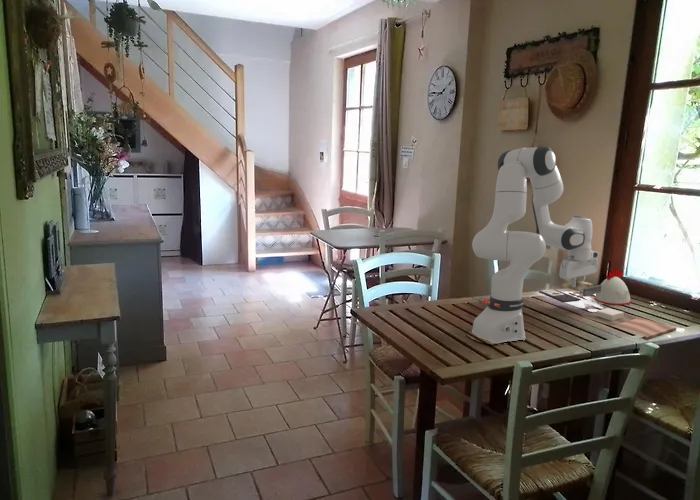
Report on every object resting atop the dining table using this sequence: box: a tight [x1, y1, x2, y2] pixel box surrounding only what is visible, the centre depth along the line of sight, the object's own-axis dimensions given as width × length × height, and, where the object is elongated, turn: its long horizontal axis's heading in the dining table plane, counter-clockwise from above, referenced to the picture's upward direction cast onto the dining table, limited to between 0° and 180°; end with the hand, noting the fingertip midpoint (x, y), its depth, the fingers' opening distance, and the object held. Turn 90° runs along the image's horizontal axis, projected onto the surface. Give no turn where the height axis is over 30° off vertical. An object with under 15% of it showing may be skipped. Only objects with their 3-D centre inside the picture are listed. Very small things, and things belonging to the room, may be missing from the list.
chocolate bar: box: [538, 289, 582, 303], centre depth 243 cm, size 9×1×18 cm
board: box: [580, 311, 677, 340], centre depth 204 cm, size 18×28×1 cm, turn 29°
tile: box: [596, 307, 625, 321], centre depth 209 cm, size 7×7×2 cm
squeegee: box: [562, 278, 601, 297], centre depth 221 cm, size 14×10×4 cm
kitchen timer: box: [594, 268, 631, 306], centre depth 230 cm, size 14×14×15 cm
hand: (577, 286), depth 222 cm, fingers closed on squeegee, 2 cm apart
